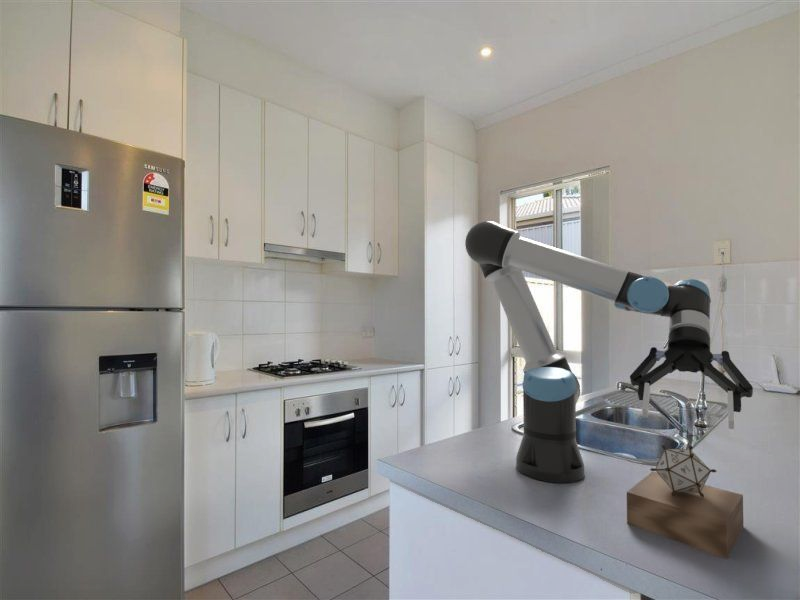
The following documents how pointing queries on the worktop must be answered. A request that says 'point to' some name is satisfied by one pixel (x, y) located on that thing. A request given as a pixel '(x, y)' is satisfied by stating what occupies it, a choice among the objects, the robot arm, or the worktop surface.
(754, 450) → the worktop surface
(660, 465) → the game die
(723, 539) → the walnut block
